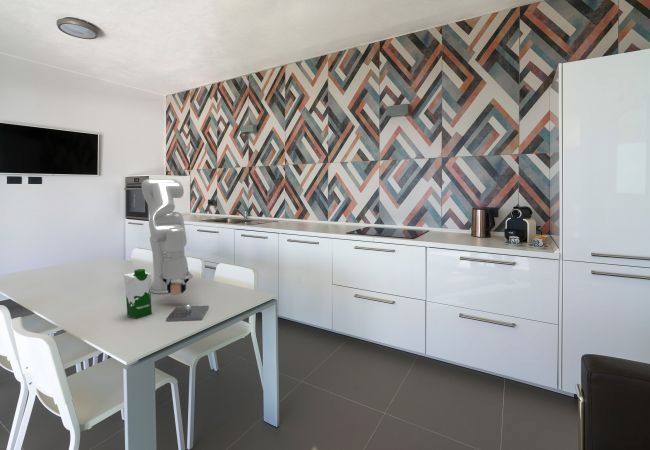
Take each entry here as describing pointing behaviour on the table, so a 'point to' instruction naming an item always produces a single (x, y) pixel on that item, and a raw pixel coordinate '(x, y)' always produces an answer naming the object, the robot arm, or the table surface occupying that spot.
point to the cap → (175, 288)
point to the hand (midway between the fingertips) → (176, 291)
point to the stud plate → (187, 313)
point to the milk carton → (138, 293)
